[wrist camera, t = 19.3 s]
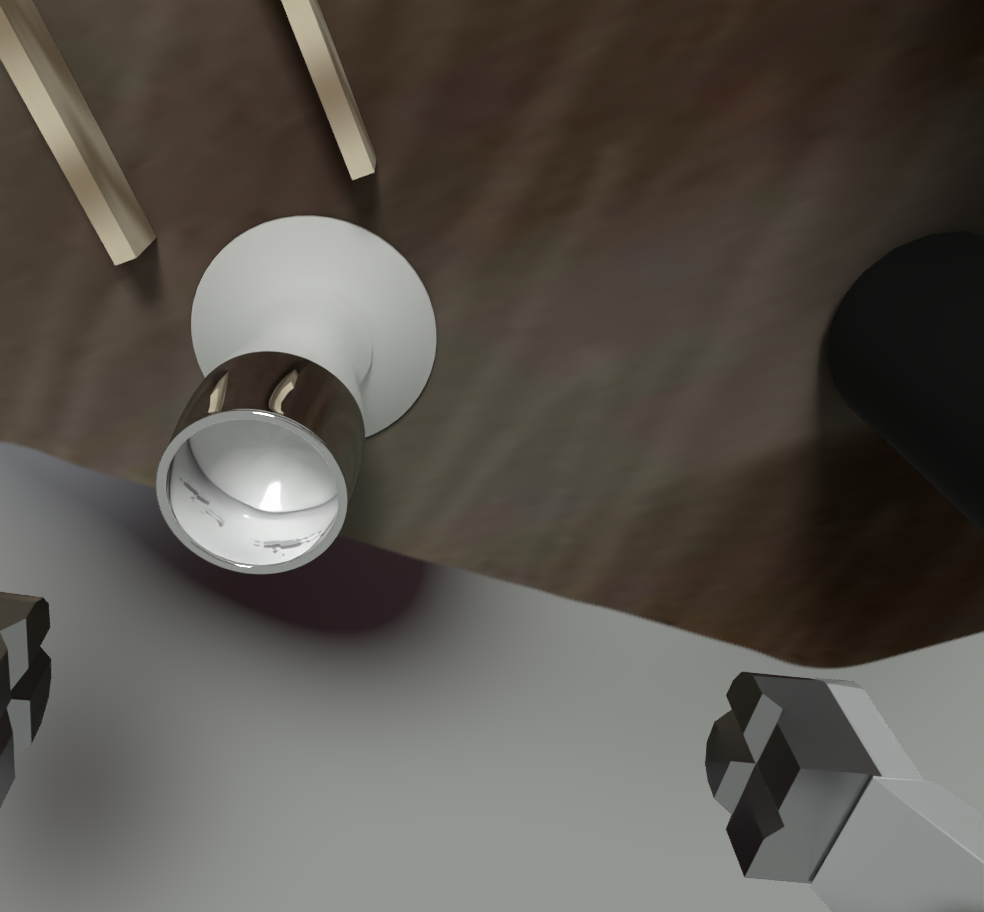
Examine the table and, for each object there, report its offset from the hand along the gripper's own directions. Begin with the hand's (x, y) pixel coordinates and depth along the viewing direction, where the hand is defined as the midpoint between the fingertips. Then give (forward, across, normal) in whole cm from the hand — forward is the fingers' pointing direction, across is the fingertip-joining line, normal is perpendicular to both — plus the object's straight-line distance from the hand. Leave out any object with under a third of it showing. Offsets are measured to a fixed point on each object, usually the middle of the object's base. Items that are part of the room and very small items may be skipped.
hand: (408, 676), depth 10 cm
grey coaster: (+34, +3, +9) cm, 35 cm away
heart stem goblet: (+34, +3, +10) cm, 35 cm away
